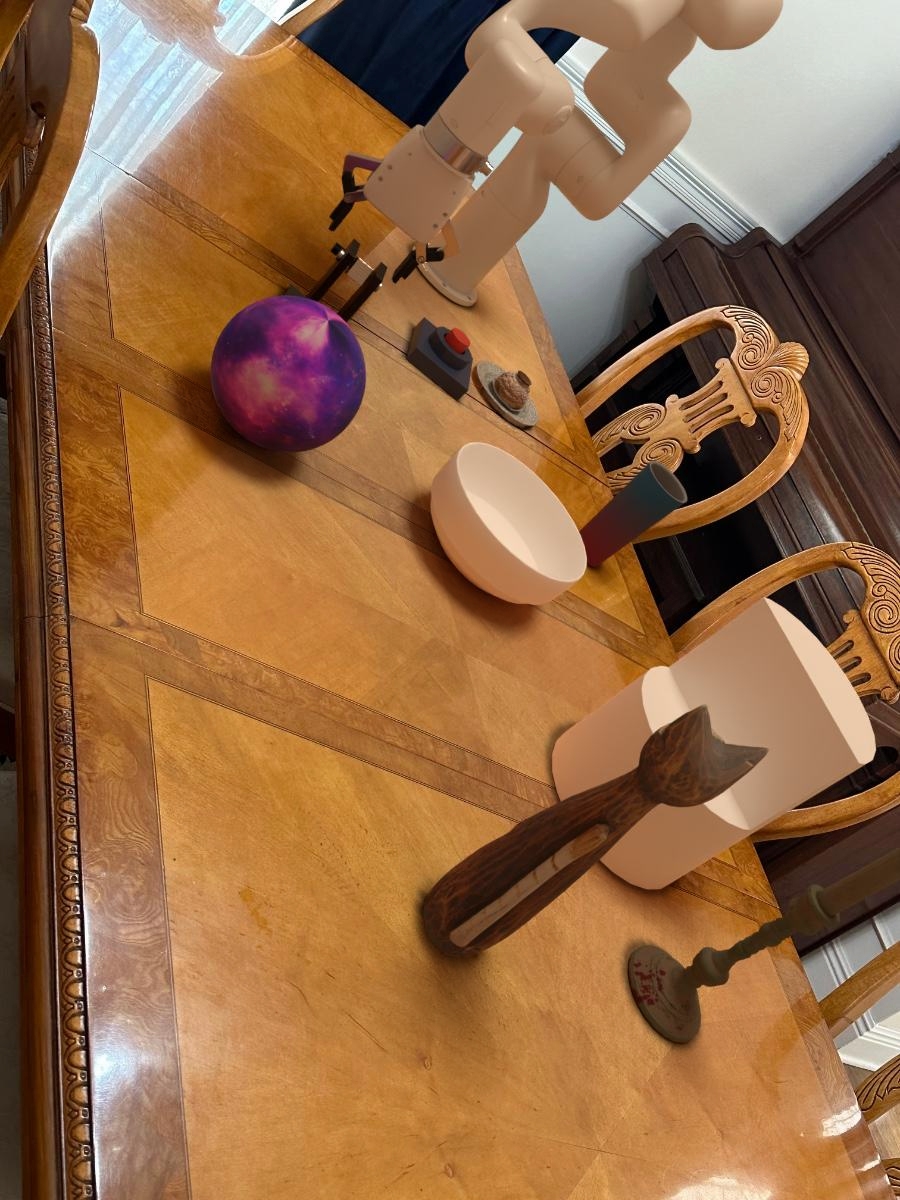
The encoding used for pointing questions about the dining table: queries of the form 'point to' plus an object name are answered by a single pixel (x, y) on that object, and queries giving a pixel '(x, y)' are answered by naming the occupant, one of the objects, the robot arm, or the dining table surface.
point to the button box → (440, 358)
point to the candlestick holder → (742, 950)
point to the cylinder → (724, 738)
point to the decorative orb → (288, 374)
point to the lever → (354, 267)
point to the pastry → (508, 393)
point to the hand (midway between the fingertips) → (363, 252)
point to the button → (457, 340)
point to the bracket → (335, 272)
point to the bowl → (505, 527)
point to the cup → (632, 512)
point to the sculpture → (577, 835)
